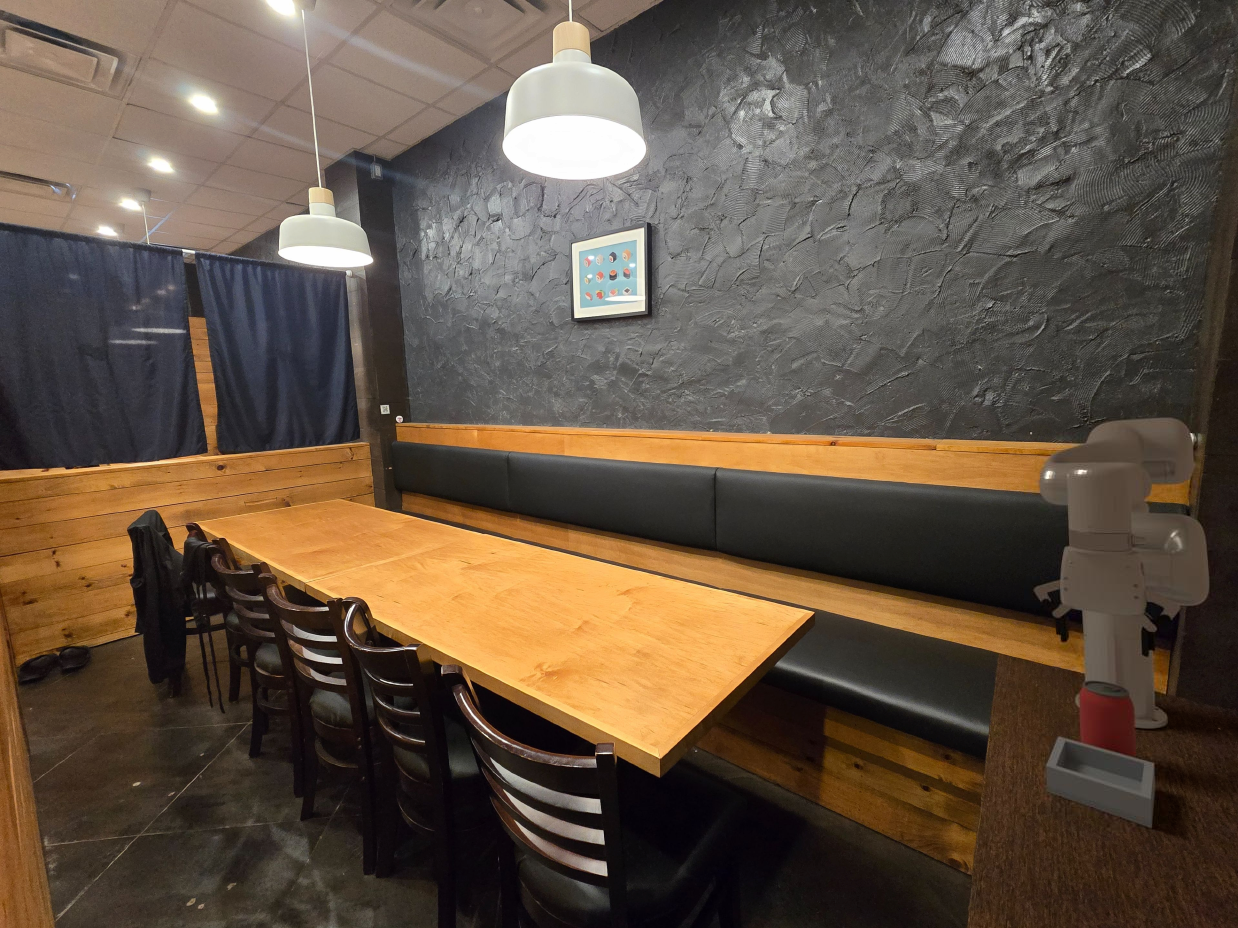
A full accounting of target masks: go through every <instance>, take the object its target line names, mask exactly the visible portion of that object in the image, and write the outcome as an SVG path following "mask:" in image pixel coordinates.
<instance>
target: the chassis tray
mask: <svg viewBox="0 0 1238 928" xmlns="http://www.w3.org/2000/svg"><path fill="white" fill-rule="evenodd" d="M1045 772H1046V792H1047V793H1048V792H1049V793H1048V794H1051V795H1055V796H1058V797H1060V796H1061V798H1063V799H1066V800H1069V801H1072V802H1074V803H1077V804H1080V805H1083V806H1086V807H1090V808H1092V807H1093V808H1092V809H1094V808H1095V810H1097V811H1100V812H1103V813H1106V814H1108V815H1112V816H1115V817H1117V818H1120V817H1121V819H1124V820H1127V821H1129V822H1133V823H1135V824H1138V825H1142V826H1144V827H1147V828H1150V829H1152V828H1153V820H1154V819H1153V817H1154V807H1155V806H1154V805H1155V795H1156V793H1155V792H1156V778H1155V777H1156V776H1155V775H1156V773H1155V762H1152V761H1148V760H1145V759H1141V758H1137V757H1136V758H1134V757H1130V756H1127V755H1123V754H1120V753H1116V752H1113V751H1109V750H1106V749H1102V748H1098V747H1095V746H1091V745H1088V744H1084V743H1081V741H1077V740H1074V739H1069V738H1065V737H1062V736H1059V735H1058V736H1057V738H1056V740H1055V744H1054V746H1053V749H1052V751H1051V753H1050V756H1049V758H1048V760H1047V763H1046V765H1045Z"/></svg>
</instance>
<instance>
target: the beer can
mask: <svg viewBox="0 0 1238 928" xmlns="http://www.w3.org/2000/svg"><path fill="white" fill-rule="evenodd" d="M1079 693H1080V694H1079ZM1079 693H1078V694H1079V705H1080V708H1079V724H1080V725H1079V726H1080V729H1079V730H1080V742H1081V743H1084V744H1088V745H1091V746H1095V747H1098V748H1102V749H1106V750H1109V751H1113V752H1116V753H1120V754H1123V755H1127V756H1130V757H1134V758H1137V743H1136V741H1137V740H1136V728H1135V712H1134V705H1133V702H1132V700H1131V698H1130V696H1129V691H1127V690H1126V689H1125V688H1123V687H1121V686H1118V685H1115V684H1112V683H1108V682H1102V681H1086V682H1085V681H1083V683H1082V687H1081V689H1080V691H1079Z"/></svg>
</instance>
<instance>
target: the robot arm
mask: <svg viewBox="0 0 1238 928" xmlns="http://www.w3.org/2000/svg"><path fill="white" fill-rule="evenodd" d="M1192 437H1193V436H1192V435H1191V431H1190V430H1189V428H1188V426H1187V425H1186V424H1185V423H1184V422H1183V421H1182V420H1180V419H1177V418H1174V417H1152V418H1138V419H1136V418H1135V419H1121V420H1111V421H1107V422H1104V423H1100V424H1099V425H1097V426H1096V427H1094V428H1093V429H1092V430H1091V432H1090V433H1089V434H1088V437H1087V438H1086V439H1087V440H1086V442H1084V443H1081V444H1078V445H1074V446H1072V447H1068V448H1066V449H1062V450H1059V451H1057V452H1054V453H1053V454H1051V455H1050V456H1048V458H1047V460H1045V462H1044V465H1043V467H1042V469H1041V471H1040V473H1039V479H1038V488H1039V492H1040V495H1041V496H1042V498H1043V499H1044V501H1046V502H1048V503H1050V504H1053V505H1057V506H1058V505H1059V506H1067V510H1068V511H1067V513H1068V515H1067V516H1068V517H1067V518H1068V538H1069V539H1068V540H1069V541H1068V543H1069V546H1064V549H1063V554H1062V560H1061V565H1060V566H1061V567H1060V579H1059V580H1055V581H1051V582H1047V583H1045V584H1041V585H1038V586H1036V587H1035V588H1033V593H1035V595H1036V597H1037V598H1038V599H1039V601H1040V603H1041V605H1042V606H1043V607H1044V608H1045V609H1047V610H1048V611H1049V612H1050V613H1051V614H1052V616H1053V617H1054V618H1055V619H1054V620H1055V635H1057V636H1060V642H1061V643H1067V642H1068V640H1069V638H1070V627H1069V626H1070V625H1069V616H1068V615H1067V613H1068V612H1070V610H1072V609H1073V610H1078V611H1081V612H1082V627H1083V630H1082V631H1083V650H1084V651H1083V654H1084V655H1083V656H1084V677H1085V681H1084V682H1086V681H1102V682H1108V683H1112V684H1115V685H1118V686H1121V687H1123V688H1125V689H1126V690H1127V691H1129V696H1130V698H1131V700H1132V702H1133V705H1134V712H1135V729H1136V728H1137V729H1159V728H1162V727H1163V728H1164V726H1166V725H1168V722H1169V721H1168V715H1167V713H1166V712H1164V711H1163V710H1162V709H1161V708H1159V707H1157V706H1156V705H1155V704H1156V701H1155V698H1156V697H1155V676H1154V674H1155V673H1154V652H1156V633H1155V632H1156V631H1157V630H1159V629H1160V628H1163V627H1164V626H1166V625H1168V624H1170V623H1171V621H1173V618H1175V617H1176V615H1177V614H1178V612H1180V610H1181V606H1183V607H1184V606H1187V607H1189V606H1198V605H1201V604H1202V603H1203V602H1204V601H1205V600H1206V599H1207V597H1208V594H1209V592H1210V576H1209V575H1210V573H1209V561H1208V550H1207V549H1208V548H1207V541H1206V535H1205V531H1204V528H1203V526H1202V525H1201V523H1200V522H1199V521H1198V520H1197V519H1195V518H1193V517H1192V516H1189V515H1186V514H1181V513H1166V512H1165V513H1163V512H1162V513H1161V512H1159V513H1158V512H1150V507H1149V504H1148V503H1147V502H1146V501H1145V500H1146V498H1149V497H1150V495H1151V492H1152V490H1153V489H1152V488H1153V487H1152V486H1154V485H1159V486H1160V485H1162V486H1163V485H1168V486H1169V485H1171V486H1172V485H1179V484H1185V483H1186V482H1188V481H1189V480H1191V477H1193V473H1194V469H1195V458H1194V443H1193V438H1192ZM1057 590H1059V594H1060V596H1059V597H1060V602H1061V603H1060V604H1059V605H1058V604H1057V603H1056V602H1055V601H1053V599H1052V598H1050V597H1049V594H1048V593H1050V592H1051V593H1052V592H1054V591H1057ZM1149 602H1150V603H1154V604H1156V605H1158V606H1160V607H1162V608H1163V611H1162V612H1161V613H1160V614H1157V615H1156V616H1154V617H1152V616H1151V615H1150V614H1148V613H1147V612H1146V609H1147V607H1148V603H1149ZM1079 694H1080V692H1079V693H1077V694H1076V696H1075V705H1076V706H1077V707H1078V708H1079V709H1080V705H1079Z"/></svg>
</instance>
